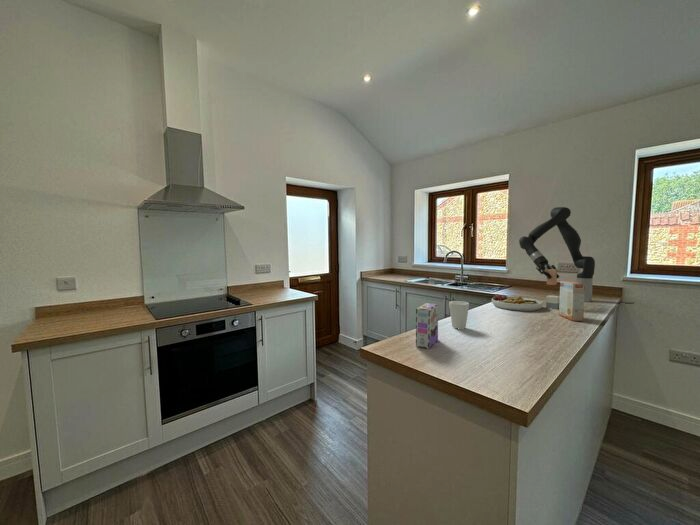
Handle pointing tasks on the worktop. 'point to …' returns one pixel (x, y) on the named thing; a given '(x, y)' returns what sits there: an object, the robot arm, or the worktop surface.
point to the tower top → (553, 299)
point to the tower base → (552, 305)
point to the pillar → (552, 277)
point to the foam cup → (459, 313)
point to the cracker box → (571, 300)
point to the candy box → (426, 325)
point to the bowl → (516, 303)
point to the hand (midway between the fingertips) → (554, 277)
